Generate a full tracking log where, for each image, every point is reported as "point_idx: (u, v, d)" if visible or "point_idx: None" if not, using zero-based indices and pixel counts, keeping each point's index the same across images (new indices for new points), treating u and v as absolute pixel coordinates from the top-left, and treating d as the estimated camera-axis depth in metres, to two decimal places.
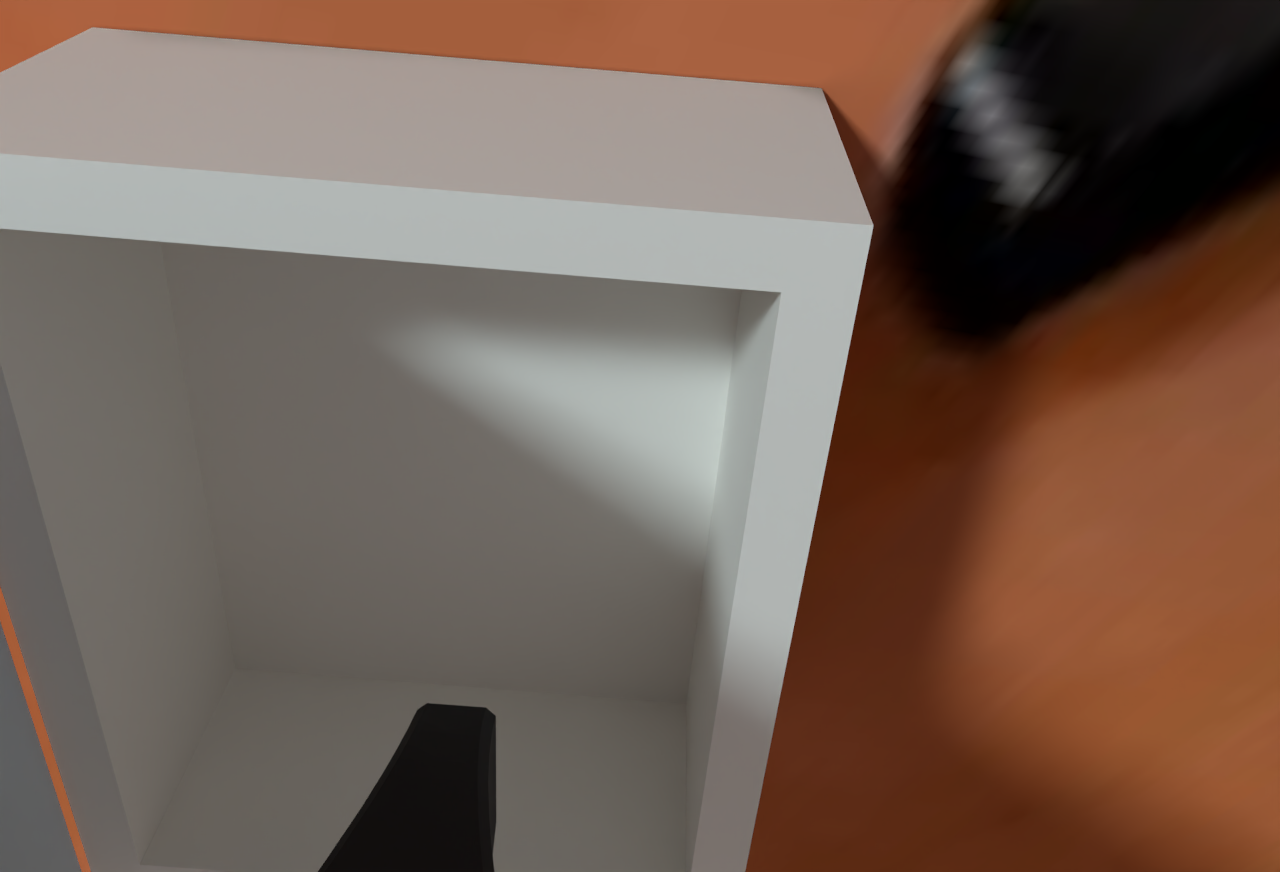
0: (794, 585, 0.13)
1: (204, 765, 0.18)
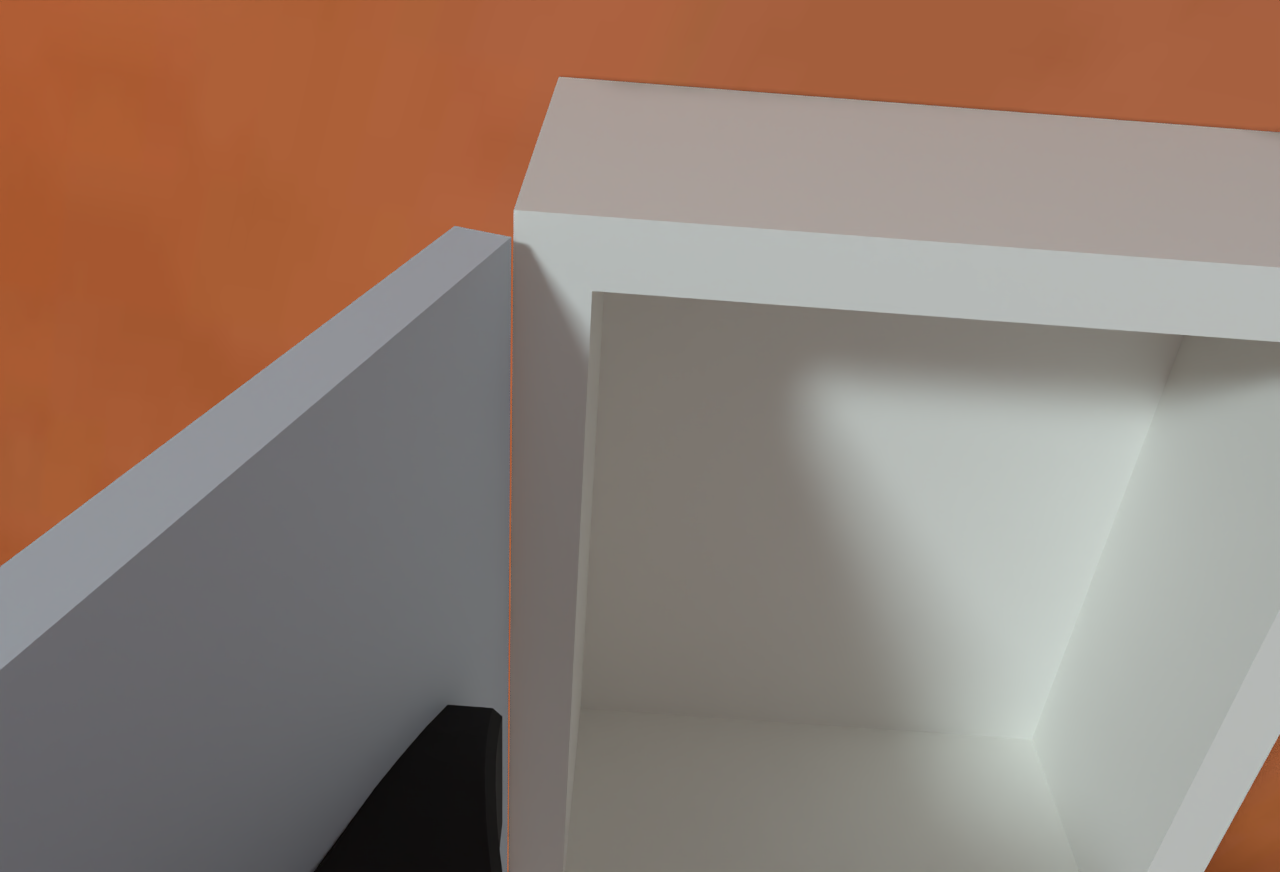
0: None
1: (586, 810, 0.18)
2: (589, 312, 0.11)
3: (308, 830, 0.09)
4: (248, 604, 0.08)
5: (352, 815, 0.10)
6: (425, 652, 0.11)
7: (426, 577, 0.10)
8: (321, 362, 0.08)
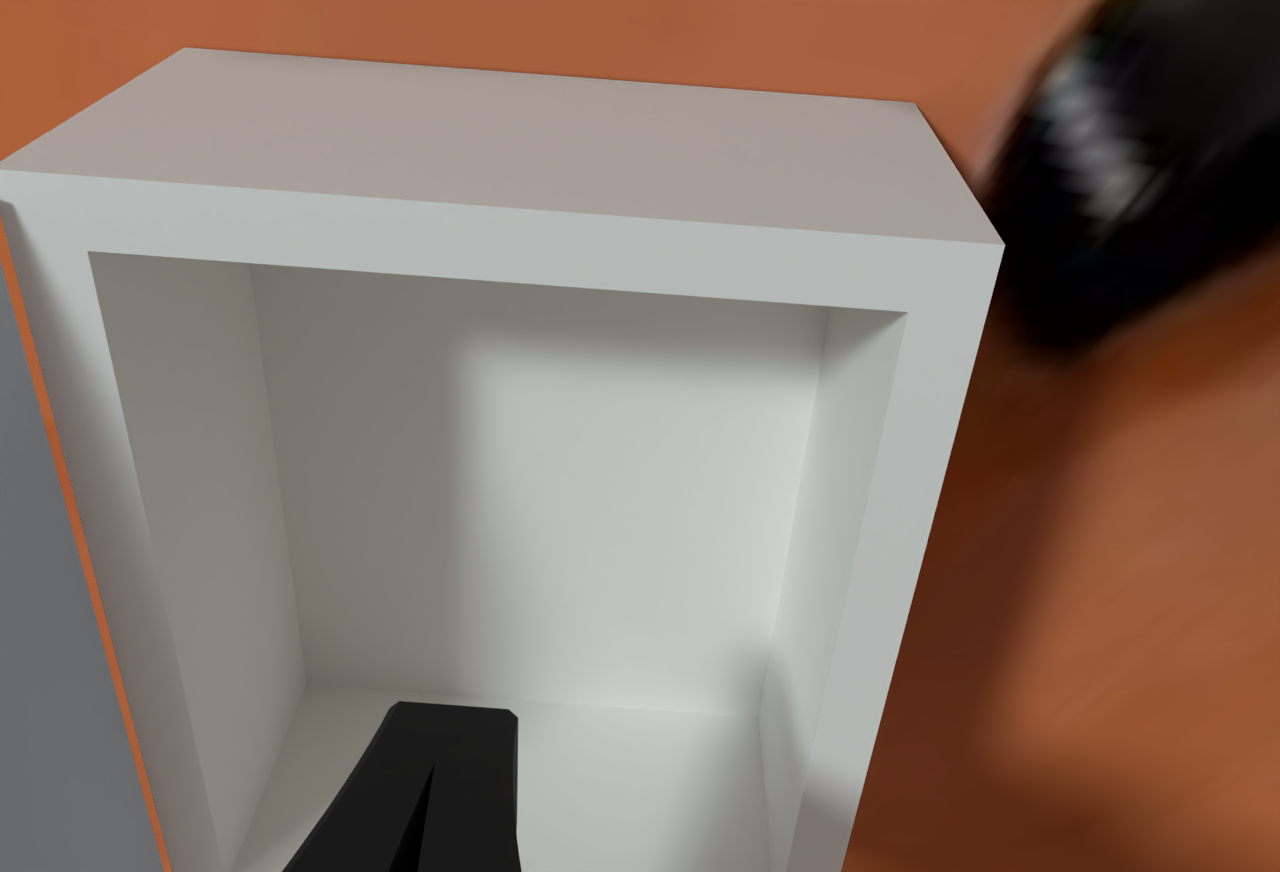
0: (903, 603, 0.13)
1: (283, 783, 0.18)
2: (89, 272, 0.11)
3: None
4: None
5: None
6: None
7: None
8: None
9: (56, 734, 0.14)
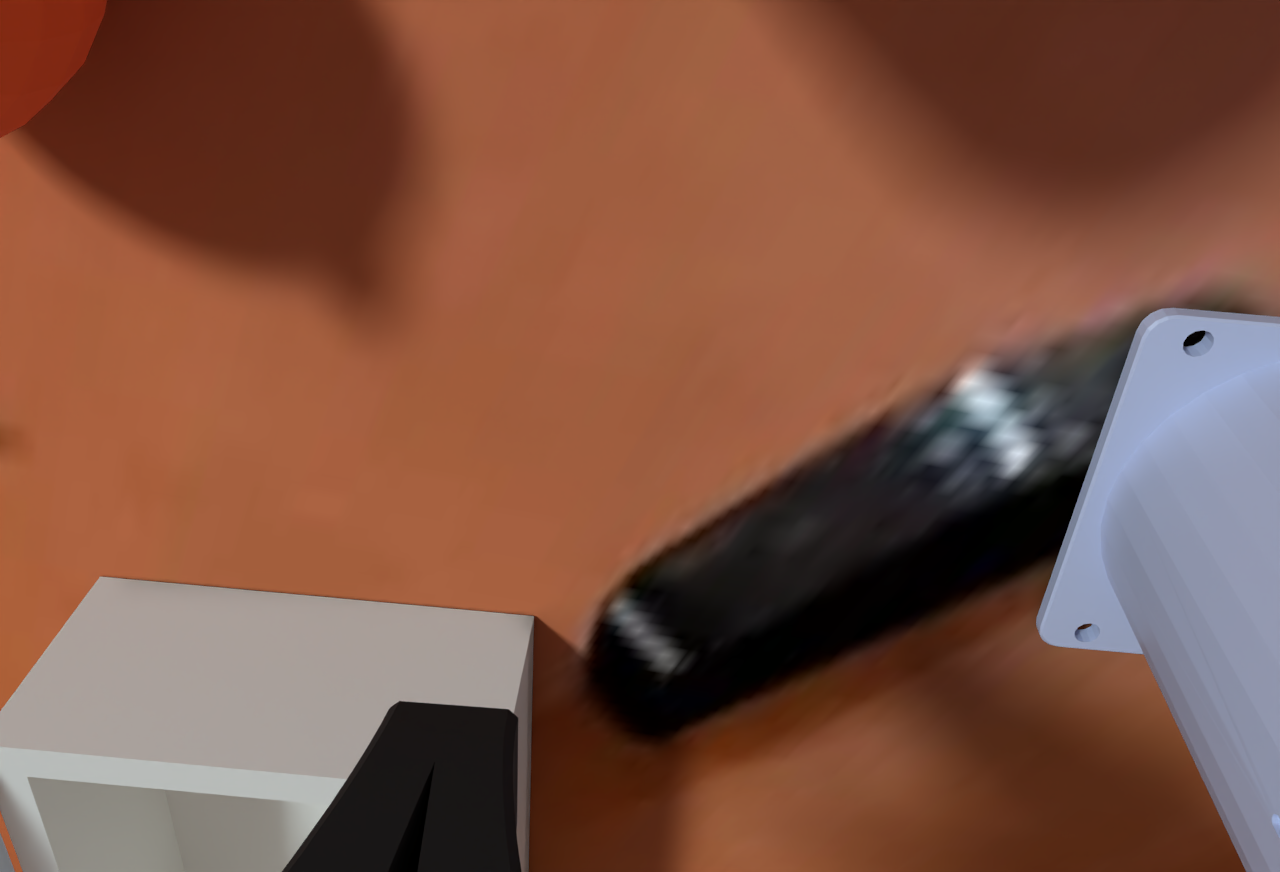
0: None
1: None
2: (28, 785, 0.21)
3: None
4: None
5: None
6: None
7: None
8: None
9: None
